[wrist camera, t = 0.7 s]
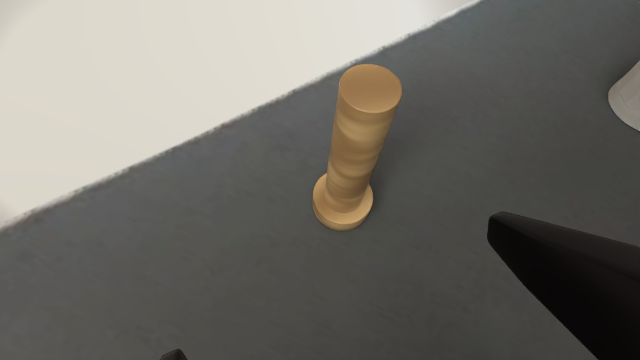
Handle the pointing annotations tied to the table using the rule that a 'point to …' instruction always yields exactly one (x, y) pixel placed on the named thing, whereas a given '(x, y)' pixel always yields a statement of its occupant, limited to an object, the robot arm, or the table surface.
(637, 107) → the cup
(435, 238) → the table surface
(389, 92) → the tan wooden tall piece
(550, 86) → the table surface
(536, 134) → the table surface
